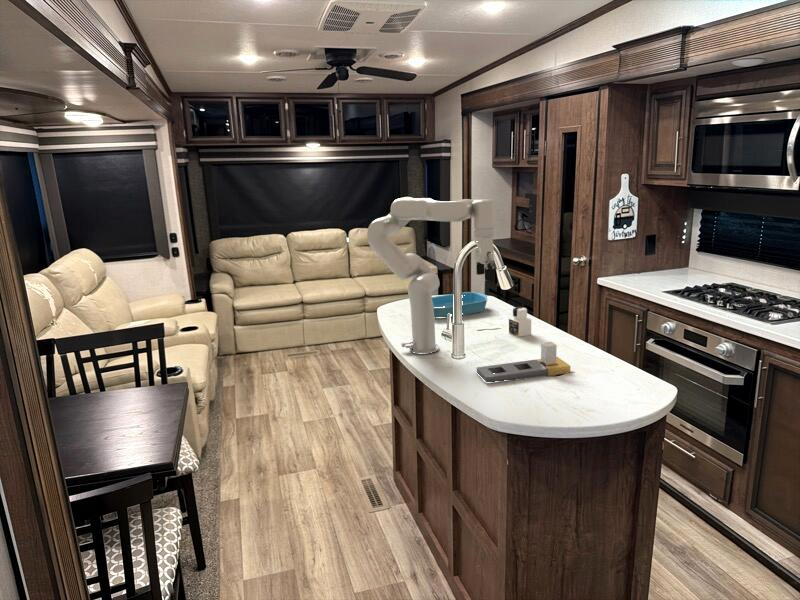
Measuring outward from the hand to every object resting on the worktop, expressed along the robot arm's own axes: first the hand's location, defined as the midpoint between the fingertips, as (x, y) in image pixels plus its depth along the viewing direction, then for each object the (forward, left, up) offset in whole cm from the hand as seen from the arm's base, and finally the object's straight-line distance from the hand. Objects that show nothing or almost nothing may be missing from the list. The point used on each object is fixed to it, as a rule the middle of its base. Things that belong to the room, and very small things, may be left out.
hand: (484, 276), depth 211 cm
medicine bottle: (+23, +20, -32) cm, 45 cm away
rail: (+6, -22, -32) cm, 40 cm away
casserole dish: (+6, +66, -33) cm, 74 cm away
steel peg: (+16, -22, -32) cm, 42 cm away
